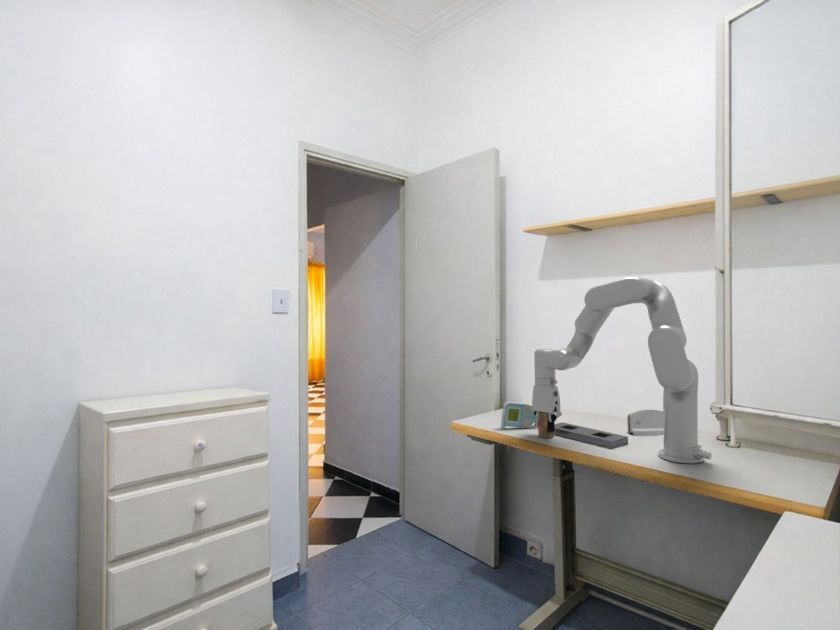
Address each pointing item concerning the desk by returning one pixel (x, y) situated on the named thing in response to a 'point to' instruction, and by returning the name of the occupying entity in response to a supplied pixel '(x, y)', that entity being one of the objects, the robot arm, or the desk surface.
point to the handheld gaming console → (518, 416)
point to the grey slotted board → (590, 435)
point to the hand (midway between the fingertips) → (546, 430)
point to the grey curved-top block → (645, 423)
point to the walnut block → (543, 425)
